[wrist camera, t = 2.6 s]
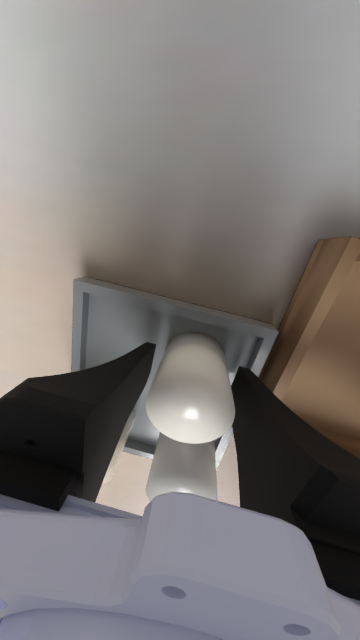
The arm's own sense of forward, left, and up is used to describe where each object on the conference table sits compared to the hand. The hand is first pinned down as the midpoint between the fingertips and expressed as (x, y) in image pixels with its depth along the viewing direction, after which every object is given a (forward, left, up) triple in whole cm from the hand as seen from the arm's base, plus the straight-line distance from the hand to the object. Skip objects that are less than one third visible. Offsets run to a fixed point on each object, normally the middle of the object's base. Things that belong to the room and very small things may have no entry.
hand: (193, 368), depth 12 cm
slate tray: (-3, +2, -2) cm, 4 cm away
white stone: (0, 0, -1) cm, 1 cm away
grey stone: (-6, -1, -1) cm, 6 cm away
